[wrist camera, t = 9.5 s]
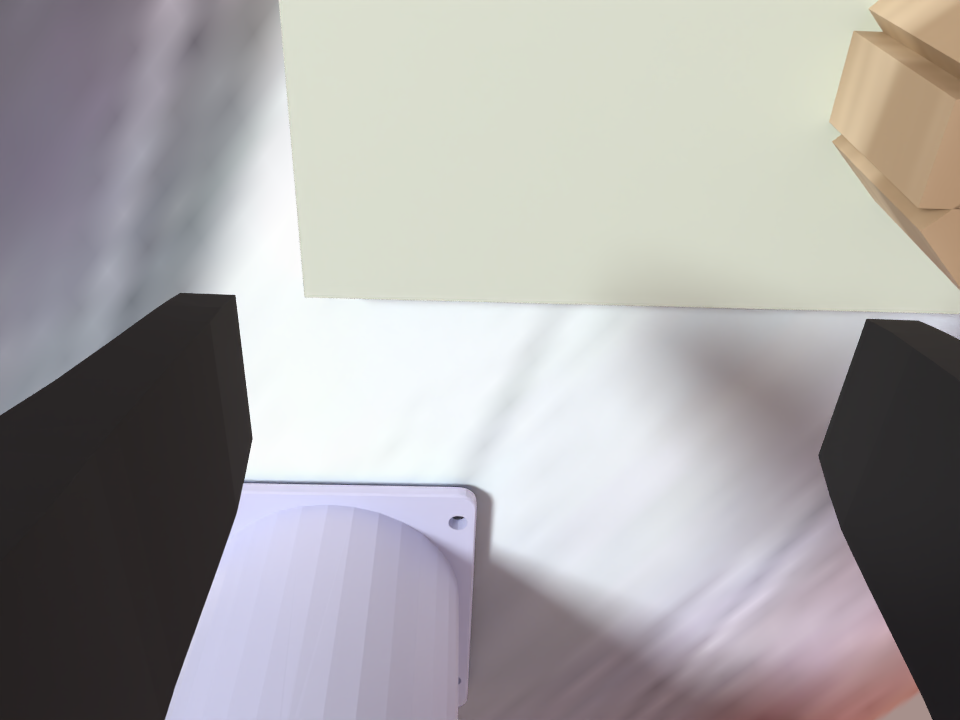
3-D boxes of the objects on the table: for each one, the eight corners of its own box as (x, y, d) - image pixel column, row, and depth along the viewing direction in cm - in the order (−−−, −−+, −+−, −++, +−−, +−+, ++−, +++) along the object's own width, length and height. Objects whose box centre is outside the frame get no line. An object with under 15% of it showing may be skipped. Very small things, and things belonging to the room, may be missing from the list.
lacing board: (1040, 290, 20) (1226, 459, 15) (312, 271, 20) (261, 440, 15) (1275, -222, 15) (1688, -218, 10) (269, -270, 14) (164, -289, 9)
